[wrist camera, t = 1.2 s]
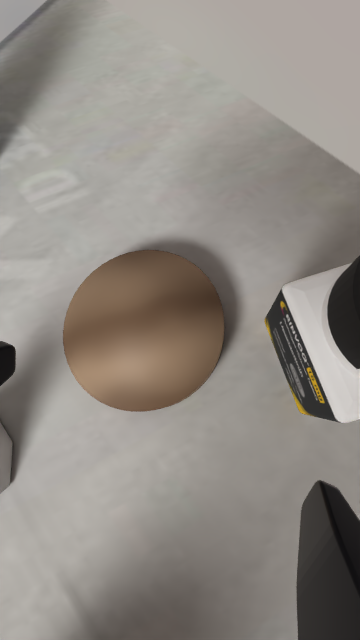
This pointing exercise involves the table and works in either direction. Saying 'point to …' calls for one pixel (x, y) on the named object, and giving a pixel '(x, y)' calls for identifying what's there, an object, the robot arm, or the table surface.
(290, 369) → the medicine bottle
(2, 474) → the flask
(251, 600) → the table surface
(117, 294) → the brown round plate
